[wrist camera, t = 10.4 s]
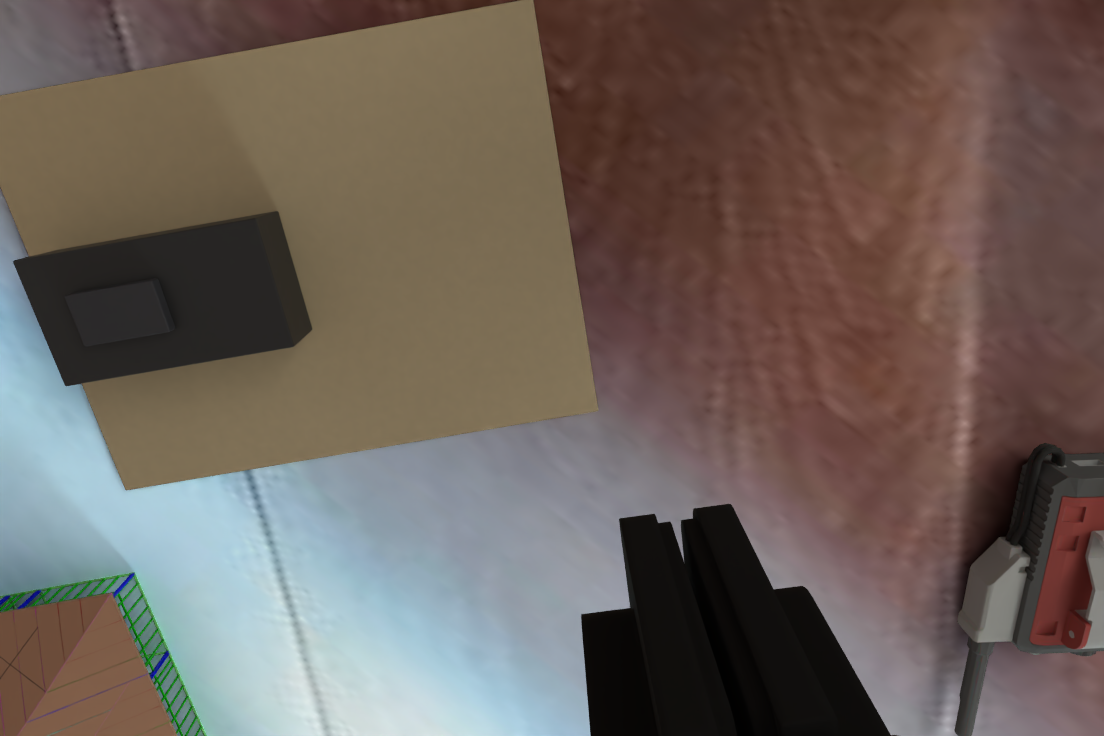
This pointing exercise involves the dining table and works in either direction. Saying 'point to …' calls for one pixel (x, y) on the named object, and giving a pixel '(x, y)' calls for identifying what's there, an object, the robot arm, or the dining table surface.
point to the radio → (167, 298)
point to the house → (81, 668)
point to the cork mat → (330, 235)
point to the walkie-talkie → (1039, 571)
